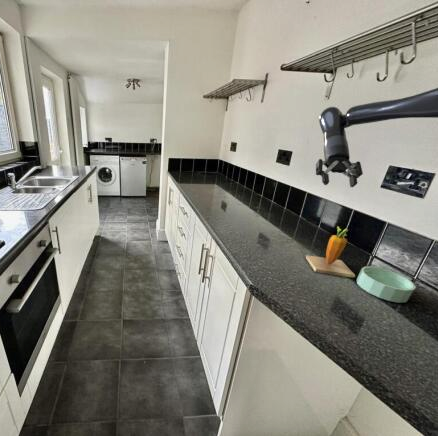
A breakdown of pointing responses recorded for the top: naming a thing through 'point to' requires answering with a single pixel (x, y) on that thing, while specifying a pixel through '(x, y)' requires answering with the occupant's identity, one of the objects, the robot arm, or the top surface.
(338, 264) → the cutting board
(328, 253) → the carrot
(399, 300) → the bowl
